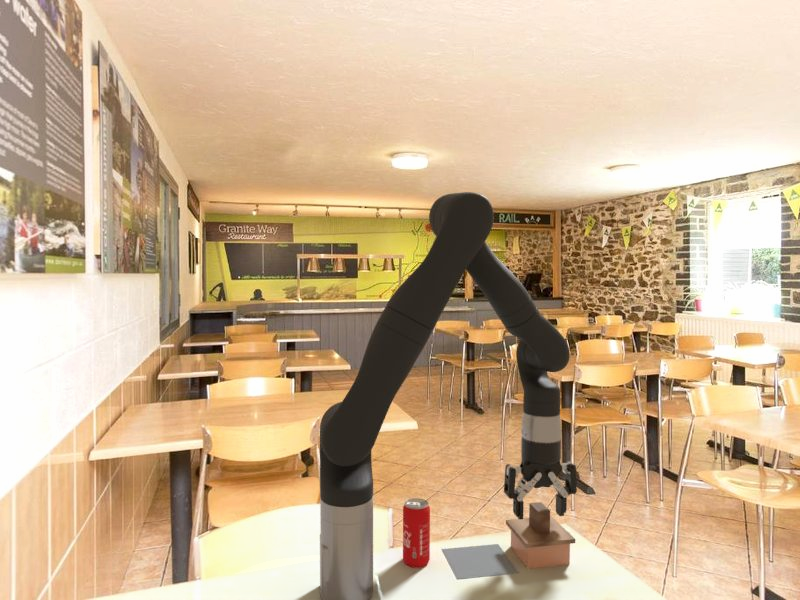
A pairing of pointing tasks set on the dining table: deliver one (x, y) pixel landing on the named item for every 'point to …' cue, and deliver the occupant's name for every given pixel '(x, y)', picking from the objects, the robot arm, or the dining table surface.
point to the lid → (539, 528)
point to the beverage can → (416, 532)
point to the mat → (479, 561)
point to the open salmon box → (541, 554)
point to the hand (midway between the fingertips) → (539, 516)
